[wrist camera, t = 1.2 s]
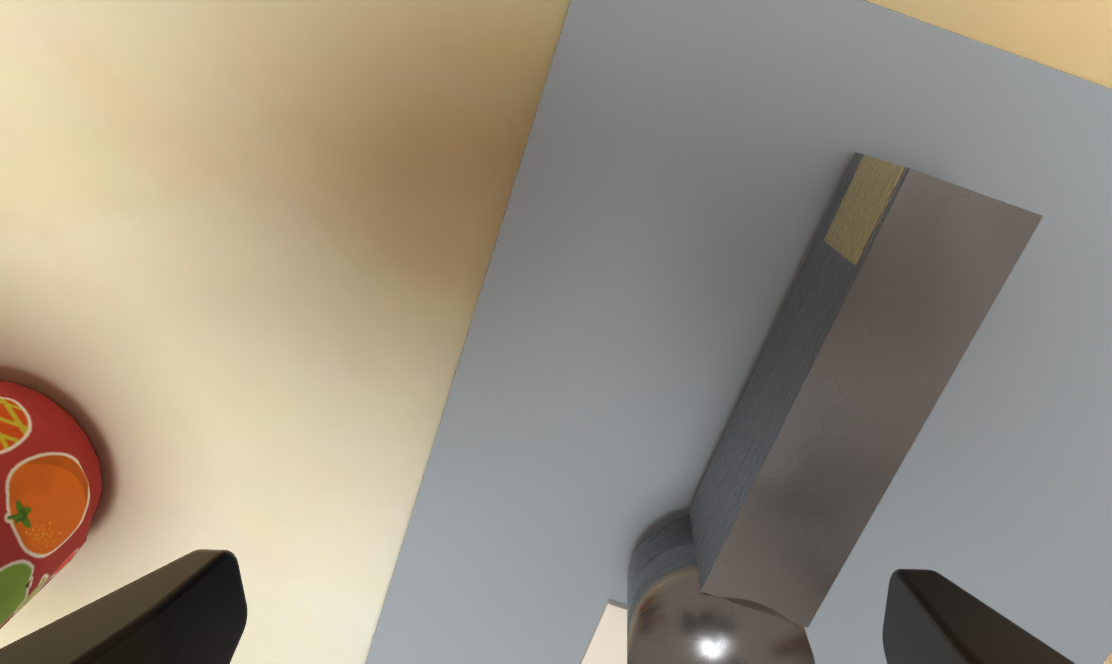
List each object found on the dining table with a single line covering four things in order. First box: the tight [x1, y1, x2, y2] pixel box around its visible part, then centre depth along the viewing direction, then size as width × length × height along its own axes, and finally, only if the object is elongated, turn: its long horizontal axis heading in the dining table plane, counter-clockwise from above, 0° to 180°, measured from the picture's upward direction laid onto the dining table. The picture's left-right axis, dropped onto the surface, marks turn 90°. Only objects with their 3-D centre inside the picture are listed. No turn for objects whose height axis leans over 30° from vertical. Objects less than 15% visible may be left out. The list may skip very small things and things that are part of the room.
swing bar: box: [627, 152, 1043, 664], centre depth 17 cm, size 14×4×3 cm, turn 161°
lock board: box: [365, 0, 1112, 664], centre depth 21 cm, size 20×30×1 cm, turn 161°
